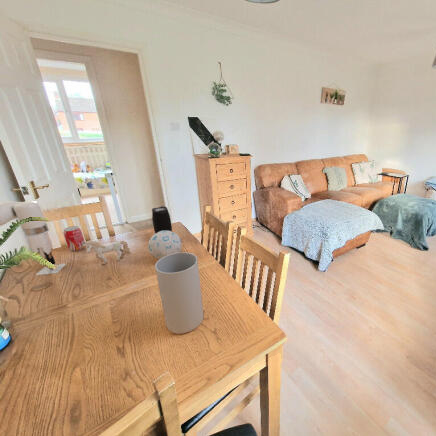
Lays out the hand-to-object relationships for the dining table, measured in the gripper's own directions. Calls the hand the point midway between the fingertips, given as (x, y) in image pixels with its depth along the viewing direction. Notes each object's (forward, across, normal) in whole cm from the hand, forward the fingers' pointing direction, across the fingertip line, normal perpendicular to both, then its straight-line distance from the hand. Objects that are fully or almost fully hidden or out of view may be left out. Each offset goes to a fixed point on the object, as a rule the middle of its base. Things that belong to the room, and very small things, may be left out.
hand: (50, 264), depth 111 cm
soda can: (+2, -16, +8) cm, 18 cm away
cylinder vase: (+3, +66, +44) cm, 79 cm away
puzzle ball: (+2, +17, +46) cm, 49 cm away
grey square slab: (+2, +1, 0) cm, 2 cm away
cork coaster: (+2, +15, -1) cm, 15 cm away
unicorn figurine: (+2, +10, +22) cm, 24 cm away
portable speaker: (+2, -6, +49) cm, 49 cm away
